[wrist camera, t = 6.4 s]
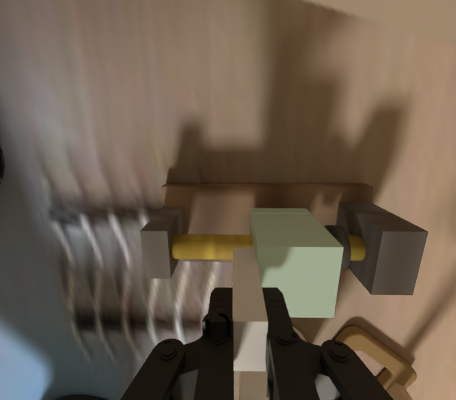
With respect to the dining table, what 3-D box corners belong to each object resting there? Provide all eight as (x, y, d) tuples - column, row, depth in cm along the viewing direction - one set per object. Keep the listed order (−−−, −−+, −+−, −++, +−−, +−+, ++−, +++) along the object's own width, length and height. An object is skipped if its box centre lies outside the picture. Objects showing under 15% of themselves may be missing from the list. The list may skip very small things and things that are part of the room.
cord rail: (171, 254, 26) (143, 308, 18) (165, 183, 24) (131, 209, 16) (353, 255, 26) (408, 312, 18) (364, 183, 24) (433, 210, 16)
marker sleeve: (248, 258, 22) (255, 316, 15) (249, 208, 21) (258, 246, 14) (301, 258, 22) (333, 317, 15) (306, 208, 21) (343, 247, 14)
